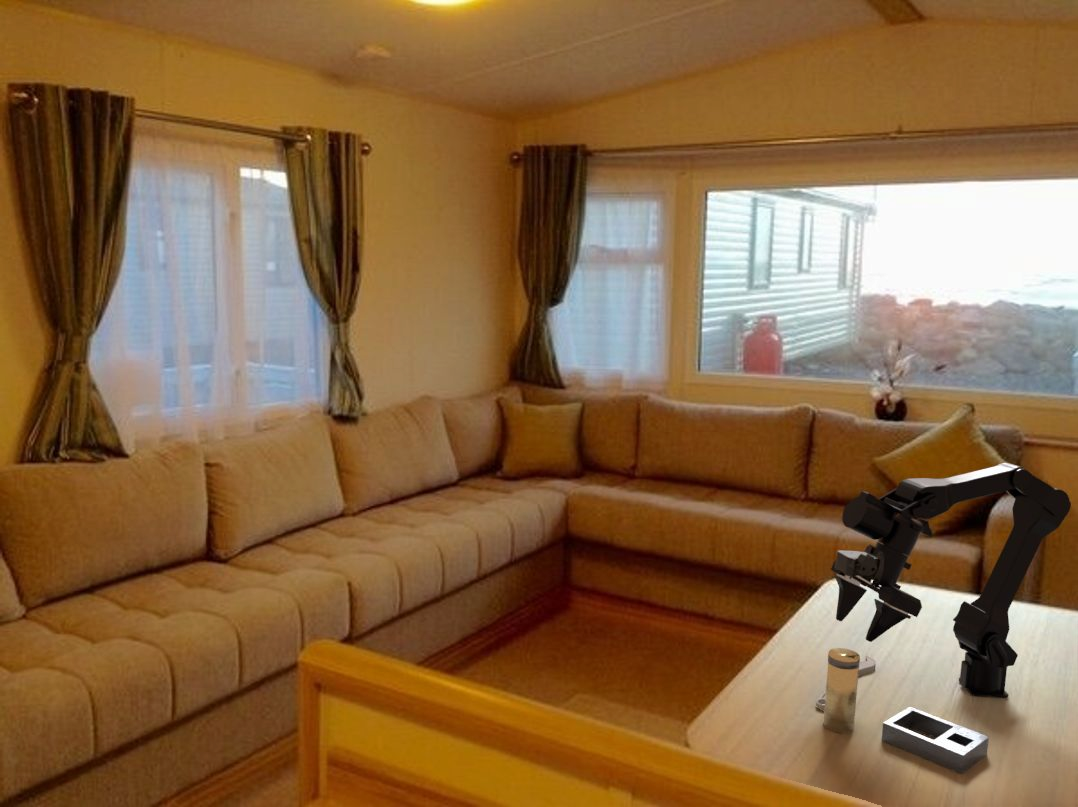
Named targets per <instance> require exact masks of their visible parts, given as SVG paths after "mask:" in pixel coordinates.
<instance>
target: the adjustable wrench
mask: <svg viewBox="0 0 1078 807" xmlns="http://www.w3.org/2000/svg"><path fill="white" fill-rule="evenodd" d="M864 659H865V660H864V661H860V664H859V672H858V677H859V676H863V675H865V674H869V673H873V672H875V670H876V665H877V664H876V662H877V661H876V660H875V659H874V658H872V657H871V656H869V655H865V658H864ZM825 696H826V689H824V691H823V692H822V693H821V694H820V695H819V697H818V698H817V699H816V700H815V702H816V703H815V707H816V706H817V708H819V709H821V710H824V709H825V705H822V704H825ZM817 708H816V709H817ZM819 709H818V710H819ZM821 710H820V711H821Z"/></svg>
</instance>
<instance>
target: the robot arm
mask: <svg viewBox="0 0 1078 807" xmlns="http://www.w3.org/2000/svg"><path fill="white" fill-rule="evenodd" d="M1003 492H1006V493H1007V494H1009V495H1010V496H1011V497H1012V498H1014V501H1013V505H1012V508H1011V509H1012V520H1013V527H1012V530H1011V531H1010V533H1009V535H1008V537H1007V540H1006V542H1005V544H1004V546H1003V548H1002V550H1001V552H1000V554H999V556H998V559H996V560H997V561H996V562H995V565H994V567H993V568H992V570H991V573H990V575H989V577H988V579H987V581H986V583H985V585H984V587H983V589H982V591H981V594H980V595H979V597H978V598H977V599H975V600H974V601H972V602H970V603H969V602H967V601H965V600H964V601H962V603H961V604H960V607H959V610H958V613H957V614H956V616H955V617H954V618H953V619H952V621H954V625H953V627H952V628H953V629H952V630H953V633H954V636H955V638H956V640H957V641H958V642H957V643H958V645H959V648H960V649H961V650H963V651H965V653H964V660H961V664H960V665H961V666H960V675H959V677H958V681H959V683H960V684H961V685H962V686H963V687H964V688H965V690H967V692H968V693H969V694H970V695H971V696H972V697H973V696H974V697H976V696H977V697H988V698H989V697H992V698H1009V693H1008V692H1007V691H1006V689H1005V688H1006V680H1007V679H1006V678H1007V672H1008V667H1012V666H1013V667H1014V665H1015V664H1016V660H1017V658H1018V656H1019V655H1018V653H1017V652H1016V651H1015V650H1014V649H1013V648H1012V646H1011V645H1010V644H1009V643H1008V642H1007V638H1008V635H1009V632H1010V620H1009V610H1010V607H1011V606H1012V603H1013V601H1014V599H1015V597H1016V594H1017V593H1018V591H1019V588H1020V586H1021V584H1022V583H1023V580H1024V578H1025V576H1026V574H1027V572H1028V570H1029V568H1030V566H1031V564H1032V561H1033V559H1034V557H1035V556H1036V553H1037V551H1038V549H1039V547H1040V544H1041V543H1042V541H1043V539H1044V538H1045V537H1047V536H1048V535H1050V534H1051V533H1052V532H1054V531H1055V530H1057V529H1058V528H1059V527H1060V526H1061V525H1062V523H1063V521H1064V520H1065V519H1066V517H1067V516H1068V514H1069V512H1070V510H1071V507H1072V502H1071V501H1070V498H1069V495H1068V493H1066V491H1065V490H1062V489H1059V488H1056V487H1054V486H1051V485H1049V484H1048V483H1046V482H1045V481H1043V480H1042V479H1039V478H1038V477H1036V476H1035V475H1034V474H1032V473H1031V472H1030V471H1029V470H1027V469H1026V468H1025V467H1022V466H1019V465H1016V464H1013V463H1010V462H1003V463H1002V462H1001V463H999V464H997V465H995V466H992V467H987V468H982V469H979V470H974V471H970V472H967V473H963V474H957V475H954V476H951V477H945V478H932V477H931V478H929V477H928V478H927V477H921V478H919V477H916V478H913V477H912V478H906V479H903V480H902V481H900V482H899V483H898V486H897V487H895V488H894V489H892V490H891V491H889V492H886V493H885V494H884V495H882V496H880V497H878V498H877V497H876V496H875V495H873V494H871V493H869V492H867V491H864V490H861V492H860V494H859V496H857V497H854V498H853V499H851V500H850V501H849V502H848V504H845V507H844V509H843V512H842V518H841V519H842V523H843V525H844V526H845V527H846V528H848V529H849V530H853V531H854V532H857V533H858V534H861V535H863V536H865V537H867V538H869V539H871V540H873V541H874V540H877V541H876V542H875V545H872V544H870V543H869V545H867V546H866V548H865V550H864V551H858V550H836V557H835V560H834V562H833V564H832V566H831V568H830V570H831V571H832V572H834V573H833V578H835V580H836V582H837V585H838V596H837V597H838V598H837V599H838V600H837V607H836V616H835V620H837V621H839V622H843V621H844V619H846V618H847V616H848V615H849V614H850V613H851V611H852V610H853V609H854V607H856V605H857V603H859V601H860V600H861V599H862V598H863V596H864V595H865V594H866V593H867V591H868V590H867V589H866V588H864V587H867V588H868V589H871V590H872V591H873V592H875V593H878V599H876V598H874V599H873V601H874V604H875V613H874V615H873V617H872V620H871V621H870V622H871V623H870V624H869V628H868V630H867V632H866V636H865V641H868V642H870V643H872V642H874V641H875V640H876V639H878V638H879V637H880V636H882V635H883V634H884V633H886V632H887V631H889V630H890V629H891V628H893V627H894V626H896V625H898V624H899V623H901V622H903V621H904V620H906V619H908V620H910V619H911V618H912V616H913V617H915V618H918V616H919V614H920V612H921V610H922V608H923V605H922V601H921V599H919V598H917V597H916V596H914V595H912V594H910V593H908V592H906V591H904V590H902V589H901V588H902V586H901V585H900V584H898V580H899V579H900V577H901V575H902V573H903V571H904V569H906V570H908V571H910V570H911V568H912V564H911V563H909V562H908V560H909V558H910V556H911V554H912V552H913V551H914V548H915V547H916V544H917V542H918V540H919V538H920V536H921V534H922V535H924V536H927V537H928V538H932V537H933V535H934V534H933V531H932V528H930V522H929V520H930V519H934V518H936V517H938V516H940V515H942V514H944V513H947V512H948V511H949V510H951V508H952V507H953V506H954V505H958V504H960V503H963V502H967V501H971V500H975V499H980V498H984V497H987V496H991V495H992V496H993V495H995V494H1000V493H1003ZM897 514H898V516H897ZM916 518H917V519H916ZM861 585H862V586H863V587H862V586H861Z"/></svg>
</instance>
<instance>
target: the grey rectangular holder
mask: <svg viewBox="0 0 1078 807" xmlns="http://www.w3.org/2000/svg"><path fill="white" fill-rule="evenodd" d="M910 729H914V730H916V731H919V732H921V733H923V734H926V735H928V736H931V737H932V738H930V737H927V736H925V735H922V734H920V733H917V732H914V731H913V730H910ZM881 733H882V734H881V741H883V742H884V743H887V744H889V745H892V746H894V747H896V748H898V749H901V750H904V751H906V752H908V753H910V754H913V755H915V756H918V757H920V758H922V759H925V760H927V761H930V762H932V763H934V764H936V765H940V766H941V767H944V768H946V769H948V770H951V771H953V772H954V773H955V772H956V773H958V774H960V775H962V774H964V773H965V772H967V770H969V769H970V768H972V767H973V766H975V765H976V764H977V763H978V762H980V761H981V760H983V759H984V758H985V757H986V756H988V755H987V754H988V748H989V746H988V745H989V740H990V739H989V738H990V737H989V736H987V735H984V734H981V733H979V732H977V731H974V730H972V729H968V728H966V727H965V726H961V725H958V724H956V723H954V722H951V721H948V720H945V719H943V718H941V717H938V716H934V714H933V715H932V714H930V713H927V712H925V711H922V710H920V709H917V708H914V707H912V706H909V707H907V708H905V709H904V710H902V711H901V712H898V713H897V714H895V715H894V716H892V717H890V718H889V719H887V720H885V721H883V723H882V732H881ZM933 738H935V739H933Z"/></svg>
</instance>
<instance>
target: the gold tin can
mask: <svg viewBox="0 0 1078 807" xmlns="http://www.w3.org/2000/svg"><path fill="white" fill-rule="evenodd" d="M827 657H828V658H827V670H826V671H827V672H826V684H825V686H826V687H825V690H826V696H825V709H824V711H823V721H822V722H823V724H822V725H823V726H824V727H825V729H827V730H829V731H830V732H834V733H836V734H850V733H852V732H853V731H854V730H855V719H856V708H857V695H858V686H859V676H858V672H859V664H860V662H861V658H860V657H861V656H860V654H859V653H858V652H857V651H855V650H852V649H848V648H841V647H835V648H832V649H831V648H830V650H828V654H827Z"/></svg>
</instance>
